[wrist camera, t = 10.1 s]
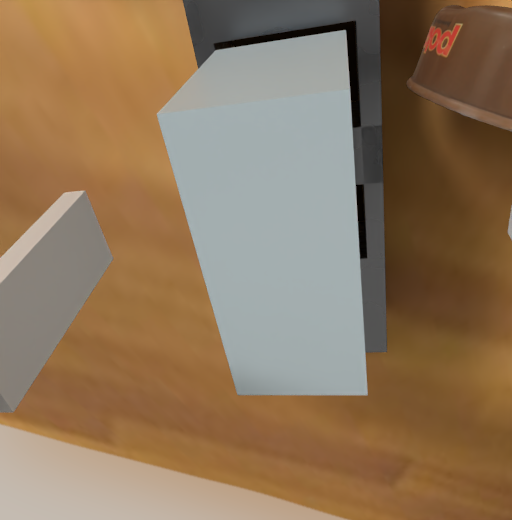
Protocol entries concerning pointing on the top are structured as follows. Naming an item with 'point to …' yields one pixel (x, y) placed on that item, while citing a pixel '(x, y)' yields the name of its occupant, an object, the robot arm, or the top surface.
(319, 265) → the pale blue upright block
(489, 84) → the tin
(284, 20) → the board
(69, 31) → the top surface
